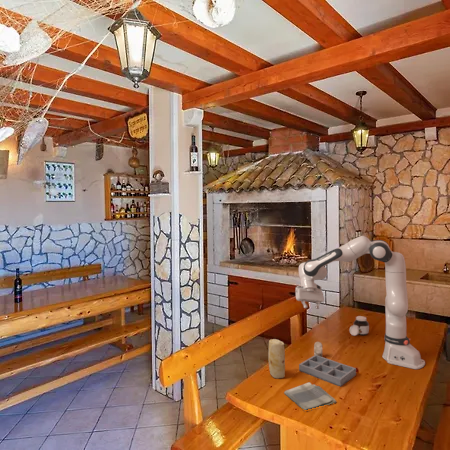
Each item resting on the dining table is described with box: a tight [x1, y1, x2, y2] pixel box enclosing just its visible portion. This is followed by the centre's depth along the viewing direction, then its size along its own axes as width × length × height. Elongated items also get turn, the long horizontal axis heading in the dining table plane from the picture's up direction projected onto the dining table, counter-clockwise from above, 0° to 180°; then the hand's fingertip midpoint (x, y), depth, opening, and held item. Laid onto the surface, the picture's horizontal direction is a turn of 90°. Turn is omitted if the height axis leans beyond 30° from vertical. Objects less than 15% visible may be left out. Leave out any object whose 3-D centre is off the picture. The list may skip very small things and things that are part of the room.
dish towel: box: [283, 381, 337, 411], centre depth 174 cm, size 19×18×3 cm
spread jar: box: [348, 315, 370, 337], centre depth 253 cm, size 12×11×12 cm
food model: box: [267, 338, 286, 379], centre depth 196 cm, size 10×7×20 cm
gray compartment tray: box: [298, 354, 357, 388], centre depth 198 cm, size 25×17×4 cm
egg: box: [313, 341, 323, 357], centre depth 218 cm, size 5×5×10 cm
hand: (311, 308), depth 225 cm, fingers open, 8 cm apart
